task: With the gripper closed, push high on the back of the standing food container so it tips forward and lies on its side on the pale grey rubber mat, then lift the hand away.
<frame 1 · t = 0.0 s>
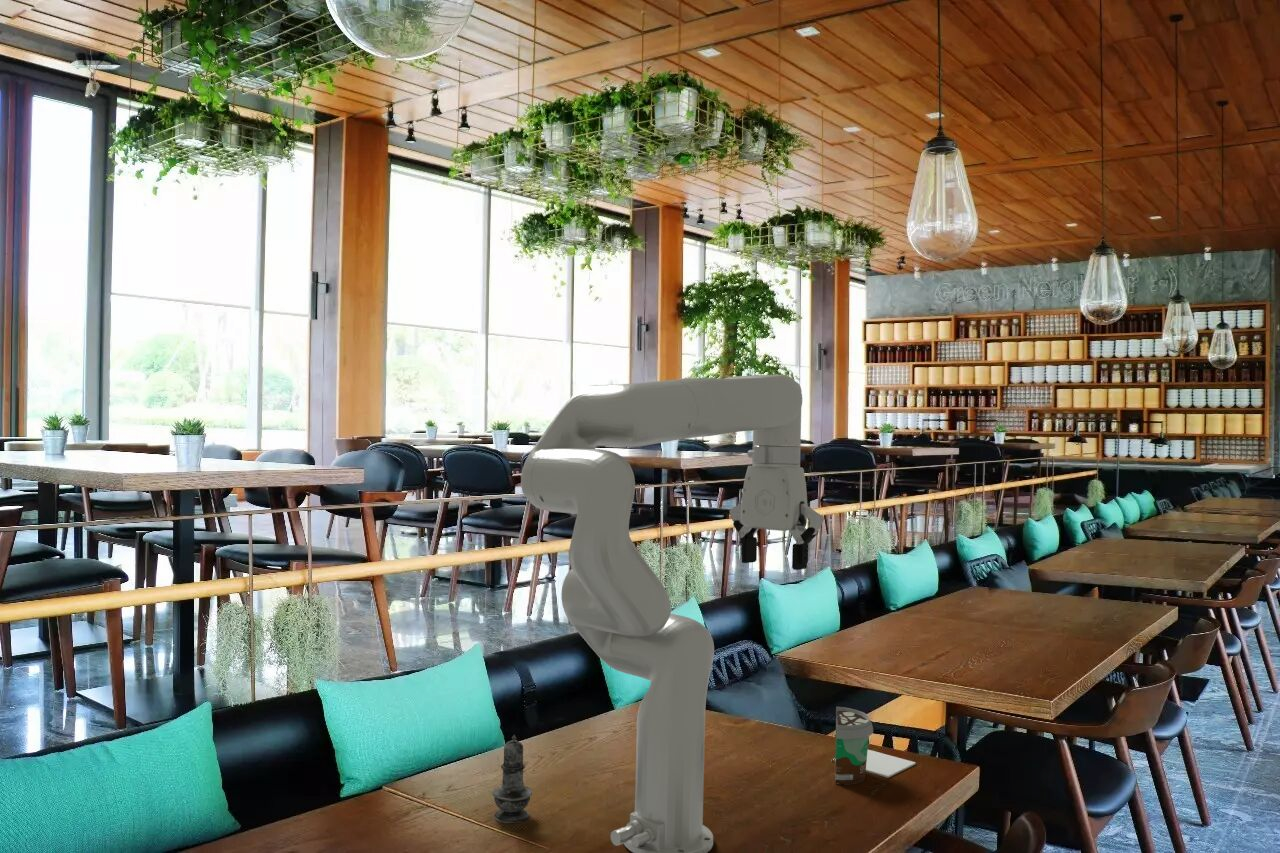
hand: (773, 565, 149), 37 cm above the table, tool pointing down, fingers open, 9 cm apart
food container: (853, 777, 160), on the table
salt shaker: (511, 817, 139), on the table
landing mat: (873, 762, 166), on the table
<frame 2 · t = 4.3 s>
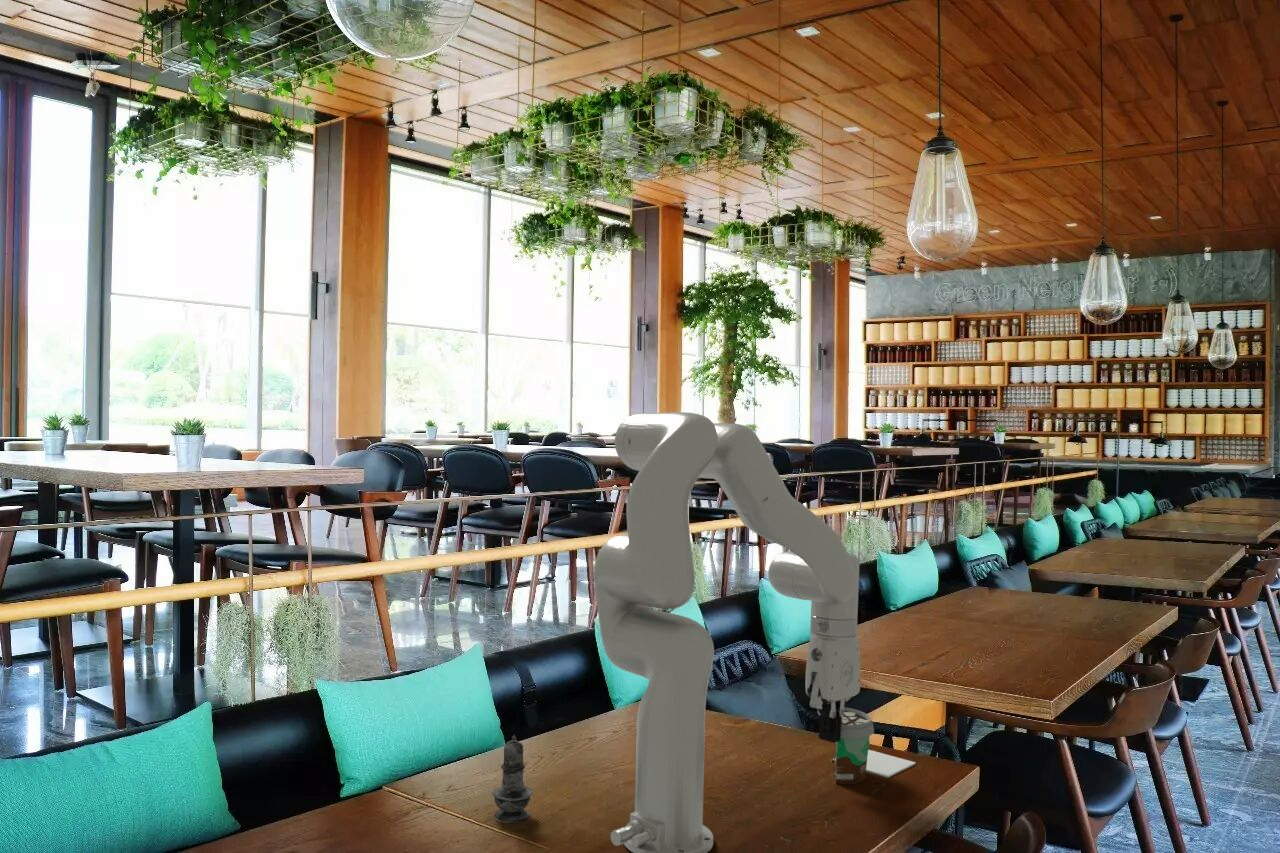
hand: (829, 739, 154), 8 cm above the table, tool pointing down, fingers closed
food container: (853, 777, 160), on the table, touching gripper
everything else where it was.
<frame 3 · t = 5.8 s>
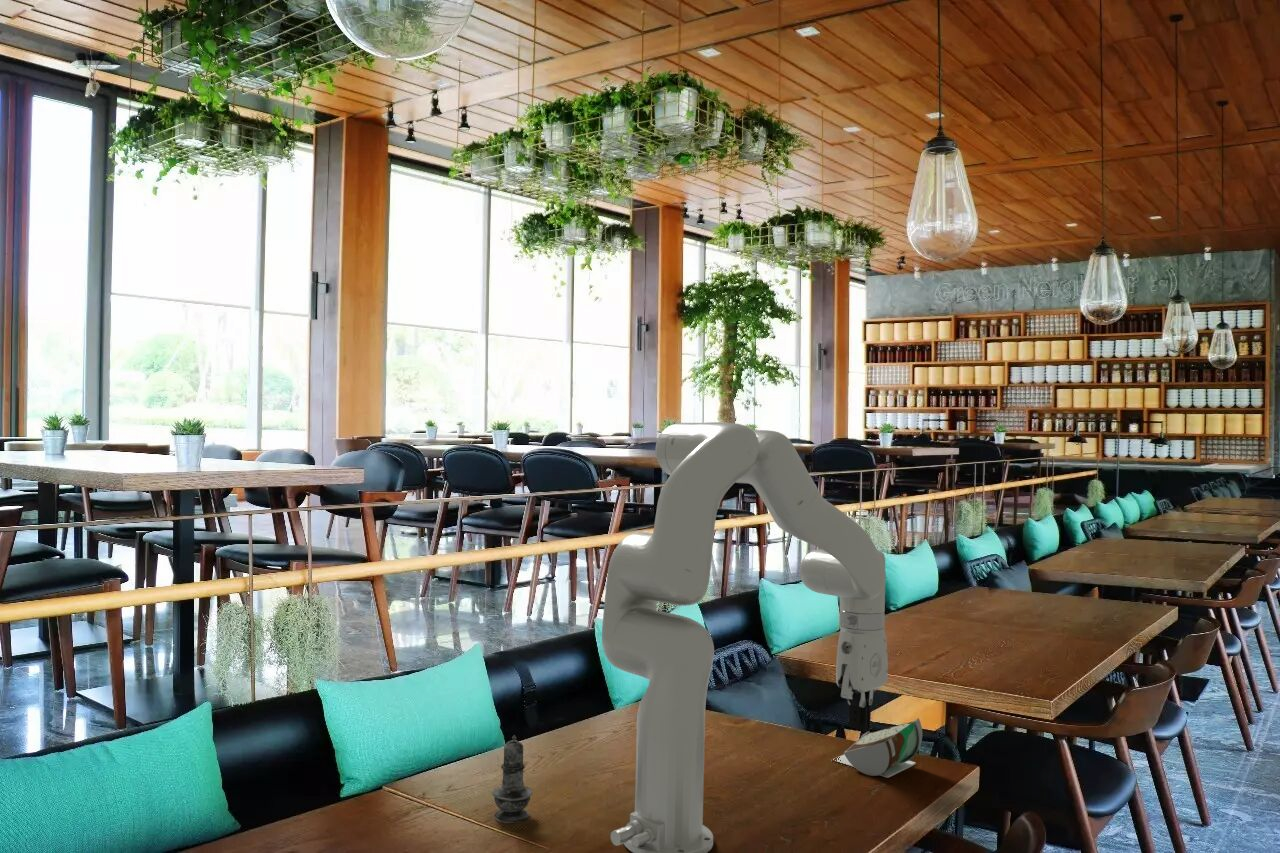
hand: (859, 727, 161), 8 cm above the table, tool pointing down, fingers closed
food container: (871, 765, 159), point 2 cm above the table, touching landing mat
everything else where it was.
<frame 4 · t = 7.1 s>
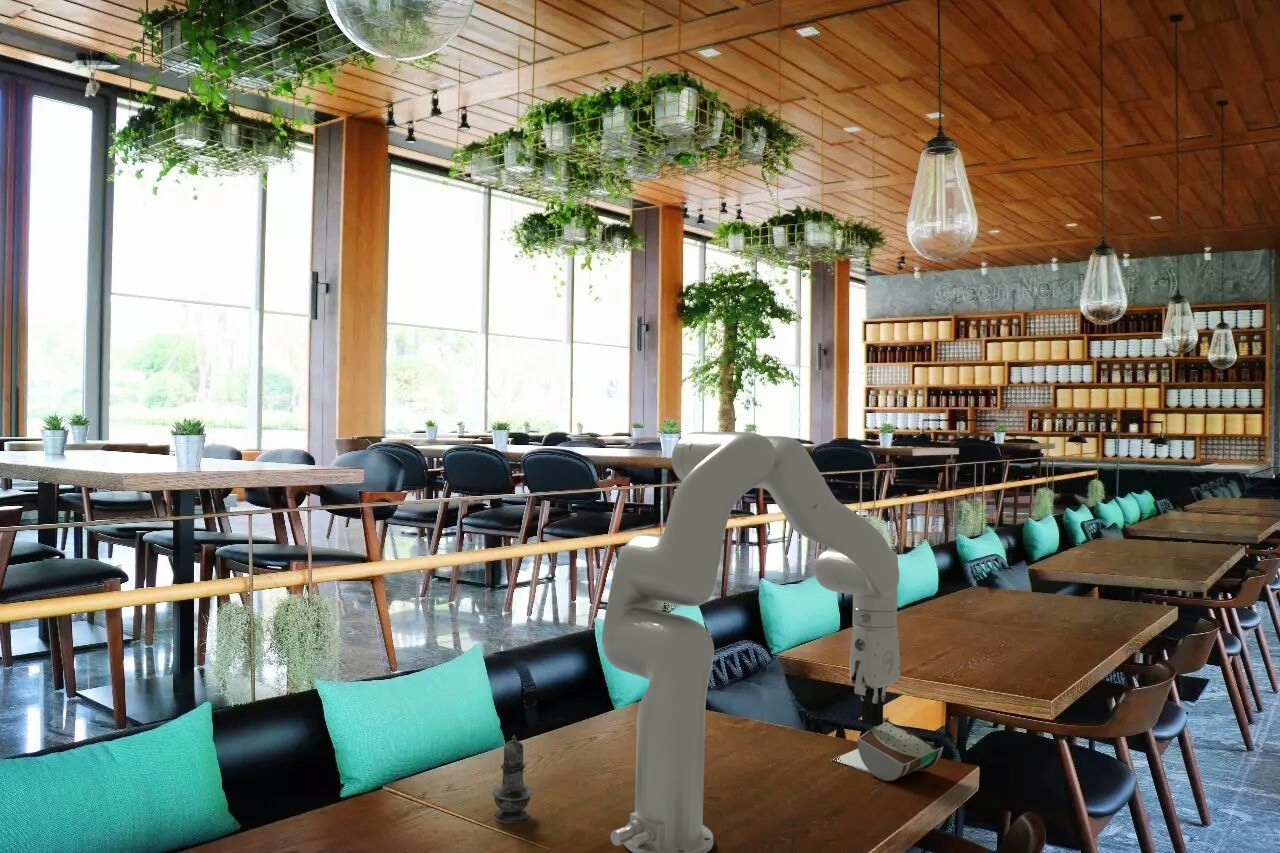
hand: (872, 723, 164), 8 cm above the table, tool pointing down, fingers closed
food container: (877, 768, 158), point 2 cm above the table, touching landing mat
everything else where it was.
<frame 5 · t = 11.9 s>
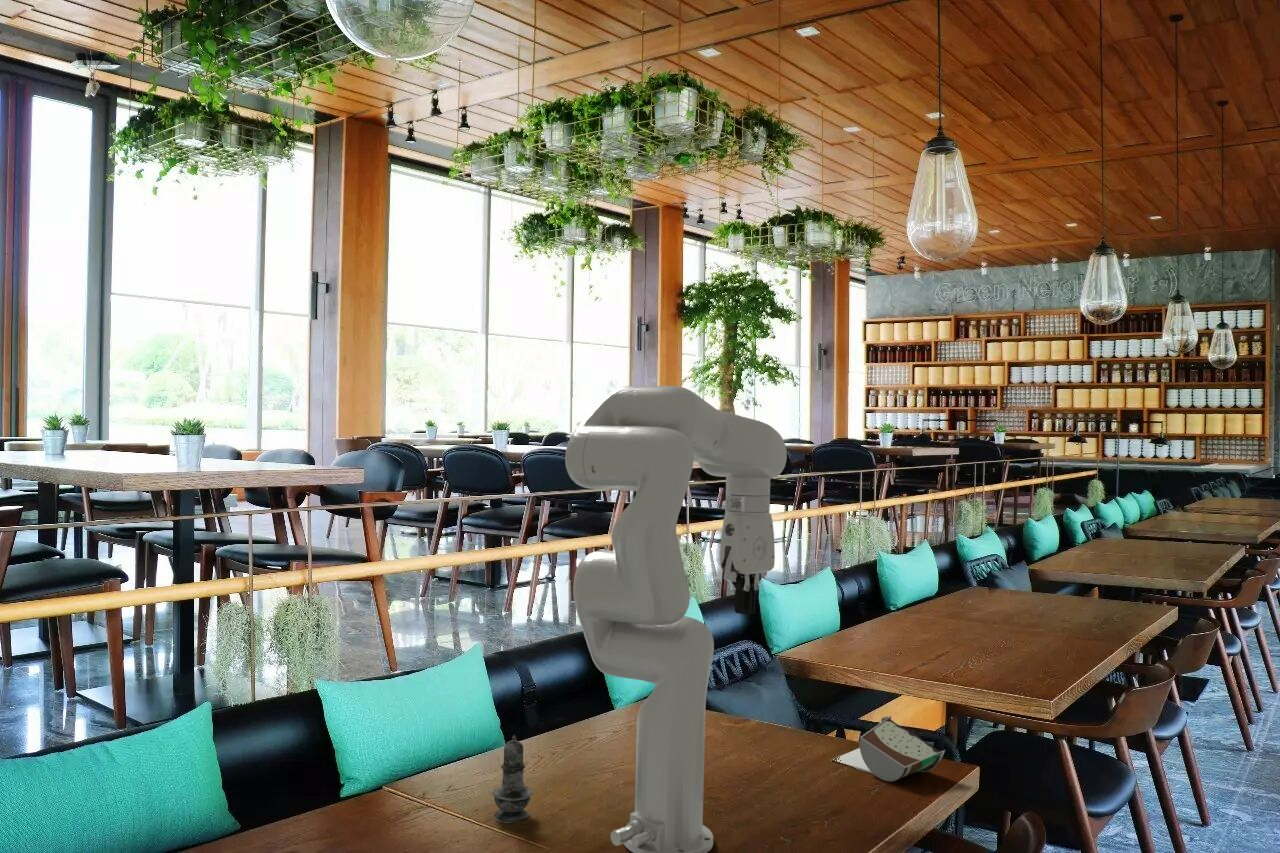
hand: (744, 613, 160), 27 cm above the table, tool pointing down, fingers closed
nothing on the table moved.
at the end: food container tilted 81°; food container inside the target area (6.1 cm from its centre), point 1.9 cm above the table; the gripper is holding nothing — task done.
